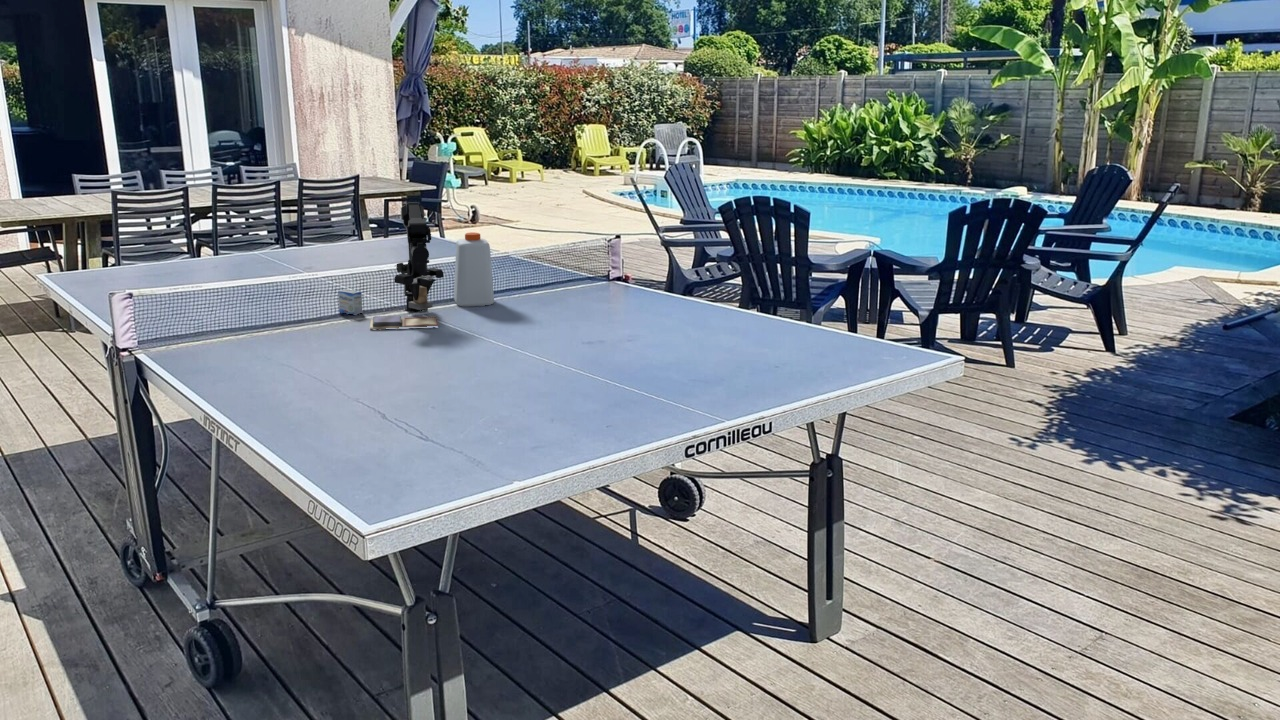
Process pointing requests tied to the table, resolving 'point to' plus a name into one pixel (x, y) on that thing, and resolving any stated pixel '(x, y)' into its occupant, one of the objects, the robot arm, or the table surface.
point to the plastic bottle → (473, 272)
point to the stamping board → (401, 322)
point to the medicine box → (350, 301)
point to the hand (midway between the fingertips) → (420, 299)
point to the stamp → (421, 300)
